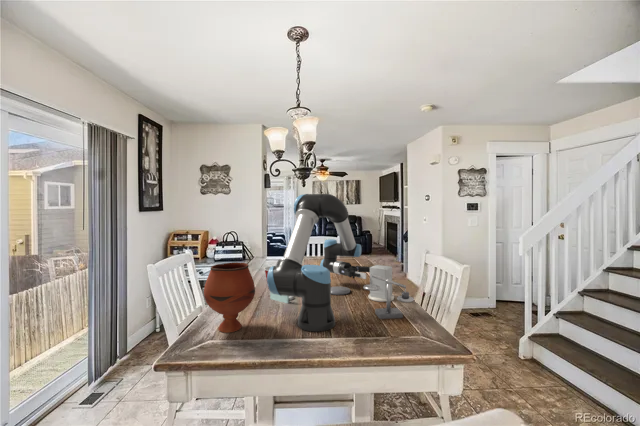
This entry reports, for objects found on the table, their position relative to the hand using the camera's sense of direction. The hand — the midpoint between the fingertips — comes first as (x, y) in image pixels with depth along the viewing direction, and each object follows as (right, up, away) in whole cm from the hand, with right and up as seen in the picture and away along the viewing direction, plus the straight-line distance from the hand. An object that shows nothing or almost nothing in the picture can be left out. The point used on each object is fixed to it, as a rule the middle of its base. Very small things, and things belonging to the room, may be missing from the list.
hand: (373, 274), depth 161 cm
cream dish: (+3, -12, -3) cm, 13 cm away
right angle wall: (-45, -13, -2) cm, 47 cm away
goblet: (-63, -14, -40) cm, 76 cm away
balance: (+2, -12, -28) cm, 30 cm away
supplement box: (+3, -11, -3) cm, 12 cm away
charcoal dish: (-18, -12, +9) cm, 23 cm away
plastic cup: (-55, -12, +16) cm, 58 cm away
